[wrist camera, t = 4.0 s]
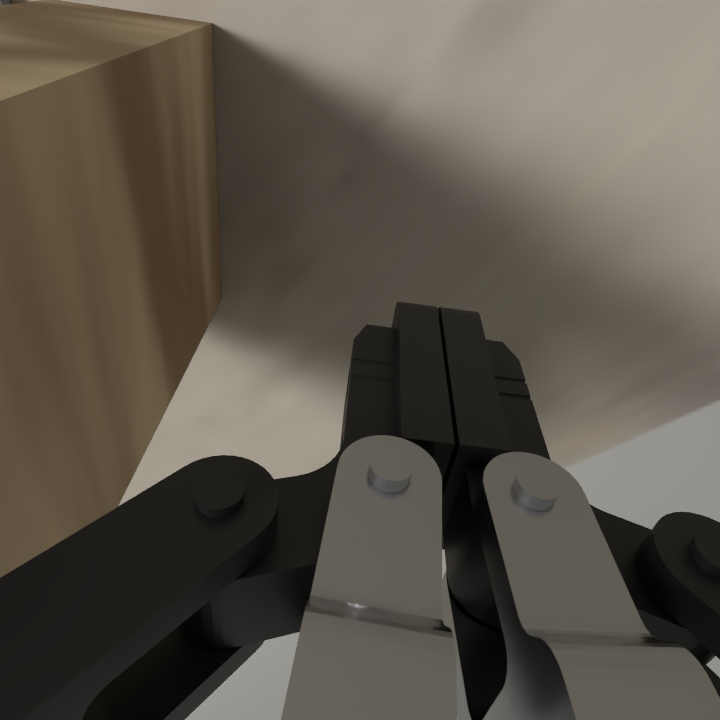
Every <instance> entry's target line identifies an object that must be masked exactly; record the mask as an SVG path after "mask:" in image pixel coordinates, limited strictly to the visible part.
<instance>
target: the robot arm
mask: <svg viewBox="0 0 720 720" xmlns="http://www.w3.org/2000/svg"><path fill="white" fill-rule="evenodd" d="M442 549H445V556H446V557H445V558H446V568H447V569H446V572H445V574H444V577H443V579H442ZM296 632H300V634H299V638H298V643H297V648H296V652H295V657H294V662H293V666H292V671H291V676H290V681H289V685H288V690H287V694H286V699H285V704H284V708H283V714H282V718H281V720H457V716H458V720H720V678H719V677H718V676H717V675H716V674H715V673H714V672H713V671H712V670H711V669H710V668H709V667H708V666H706V664H707V663H708V662H710V661H711V660H712V659H713V658H714V657H715V656H717V657H718V658H719V659H720V523H719V522H717V521H715V520H713V519H711V518H708V517H705V516H702V515H698V514H694V513H689V512H674V513H671V514H667V515H665V516H663V517H662V518H661V519H660V520H659V521H658V522H657V523H656V525H655V526H654V528H653V529H652V530H651V529H648V528H645V527H643V526H640V525H638V524H635V523H632V522H630V521H627V520H625V519H622V518H619V517H616V516H614V515H611V514H609V513H606V512H604V511H602V510H600V509H597V508H595V507H594V506H592V505H590V504H589V502H588V500H587V497H586V495H585V493H584V491H583V489H582V488H581V486H580V485H579V483H578V482H577V481H576V479H574V477H573V476H572V475H571V474H570V473H569V472H567V471H566V470H565V469H564V468H562V467H561V466H559V465H558V464H556V463H555V462H553V461H551V460H550V457H549V453H548V450H547V447H546V444H545V441H544V438H543V434H542V431H541V428H540V425H539V422H538V419H537V415H536V412H535V409H534V406H533V403H532V400H530V393H529V390H528V387H527V384H525V377H524V374H523V371H522V368H521V365H520V362H519V360H518V359H517V357H516V356H515V355H514V354H513V353H512V352H511V351H510V350H509V349H508V347H507V346H506V345H505V344H504V343H503V342H498V341H490V340H486V339H485V335H484V331H483V327H482V323H481V319H480V315H479V313H478V312H472V311H465V310H457V309H450V308H442V307H439V308H438V309H437V307H434V306H426V305H418V304H411V303H403V302H397V305H396V308H395V313H394V318H393V323H392V328H389V327H382V326H374V325H366V326H365V327H364V328H363V329H362V331H361V332H360V333H359V334H358V335H357V336H356V337H355V339H354V342H353V349H352V356H351V363H350V370H349V377H348V384H347V391H346V398H345V406H344V416H343V425H342V435H341V444H340V451H339V452H338V454H337V455H336V457H335V458H333V459H332V460H331V461H330V462H329V463H328V464H326V465H325V466H324V467H322V468H320V469H318V470H316V471H313V472H310V473H308V474H304V475H299V476H293V477H287V478H280V479H273V478H272V476H271V475H270V473H269V472H268V471H267V470H266V469H265V468H263V467H262V466H260V465H259V464H257V463H255V462H253V461H251V460H249V459H246V458H242V457H237V456H227V455H221V456H212V457H207V458H203V459H200V460H197V461H195V462H192V463H190V464H188V465H187V466H185V467H183V468H181V469H180V470H178V471H176V472H175V473H173V474H171V475H170V476H168V477H166V478H165V479H163V480H161V481H160V482H158V483H157V484H155V485H153V486H152V487H150V488H148V489H147V490H145V491H143V492H142V493H140V494H138V495H137V496H135V497H133V498H132V499H130V500H128V501H127V502H125V503H123V504H122V505H120V506H118V507H117V508H115V509H113V510H112V511H110V512H108V513H107V514H105V515H104V516H102V517H100V518H99V519H97V520H95V521H94V522H92V523H90V524H89V525H87V526H85V527H84V528H82V529H80V530H79V531H77V532H75V533H74V534H72V535H70V536H69V537H67V538H65V539H64V540H62V541H60V542H59V543H57V544H55V545H54V546H52V547H50V548H49V549H47V550H46V551H44V552H42V553H41V554H39V555H37V556H36V557H34V558H32V559H31V560H29V561H27V562H26V563H24V564H22V565H21V566H19V567H17V568H16V569H14V570H12V571H11V572H9V573H7V574H6V575H4V576H2V577H1V578H0V720H184V719H185V718H187V717H188V716H189V715H190V714H191V713H192V712H193V711H194V710H195V709H196V708H197V707H198V706H199V705H200V704H201V703H202V702H203V701H204V700H205V699H206V698H207V697H208V696H210V695H211V694H212V693H213V692H214V691H215V690H216V689H217V688H218V687H219V686H220V685H221V684H222V683H223V682H224V681H225V680H226V679H227V678H228V677H229V676H230V675H232V674H233V673H234V672H235V671H236V670H237V669H238V668H239V667H240V666H241V665H242V664H243V663H244V662H245V661H246V660H247V659H248V658H249V657H250V656H251V655H252V654H253V653H254V652H256V650H257V649H258V648H259V647H260V646H261V645H262V644H263V642H264V641H265V640H267V639H272V638H276V637H280V636H284V635H288V634H292V633H296Z"/></svg>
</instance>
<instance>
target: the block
mask: <svg viewBox="0 0 720 720" xmlns="http://www.w3.org/2000/svg"><path fill="white" fill-rule="evenodd" d="M221 300H222V291H221V262H220V233H219V205H218V176H217V147H216V119H215V90H214V61H213V32H212V23H207V22H200V21H194V20H187V19H180V18H173V17H167V16H160V15H153V14H146V13H140V12H133V11H126V10H119V9H113V8H106V7H99V6H92V5H86V4H79V3H72V2H65V1H59V0H40V1H32V2H24V3H16V4H8V5H0V578H1V577H2V576H4V575H6V574H7V573H9V572H11V571H12V570H14V569H16V568H17V567H19V566H21V565H22V564H24V563H26V562H27V561H29V560H31V559H32V558H34V557H36V556H37V555H39V554H41V553H42V552H44V551H46V550H47V549H49V548H50V547H52V546H54V545H55V544H57V543H59V542H60V541H62V540H64V539H65V538H67V537H69V536H70V535H72V534H74V533H75V532H77V531H79V530H80V529H82V528H84V527H85V526H87V525H89V524H90V523H92V522H94V521H95V520H97V519H99V518H100V517H102V516H104V515H105V514H107V513H108V512H110V511H112V510H113V509H115V508H117V507H118V505H119V503H120V501H121V499H122V497H123V495H124V493H125V491H126V489H127V487H128V485H129V483H130V481H131V479H132V477H133V475H134V473H135V471H136V469H137V467H138V465H139V463H140V461H141V459H142V457H143V455H144V453H145V451H146V449H147V447H148V445H149V443H150V441H151V439H152V437H153V435H154V433H155V431H156V429H157V427H158V425H159V423H160V421H161V419H162V417H163V415H164V413H165V411H166V409H167V407H168V405H169V403H170V401H171V399H172V397H173V395H174V393H175V391H176V389H177V387H178V385H179V383H180V381H181V379H182V377H183V375H184V373H185V371H186V369H187V367H188V365H189V363H190V361H191V359H192V357H193V355H194V353H195V351H196V349H197V347H198V345H199V343H200V341H201V339H202V337H203V335H204V333H205V331H206V329H207V327H208V325H209V323H210V321H211V320H212V318H213V316H214V314H215V312H216V310H217V308H218V306H219V304H220V302H221Z"/></svg>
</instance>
